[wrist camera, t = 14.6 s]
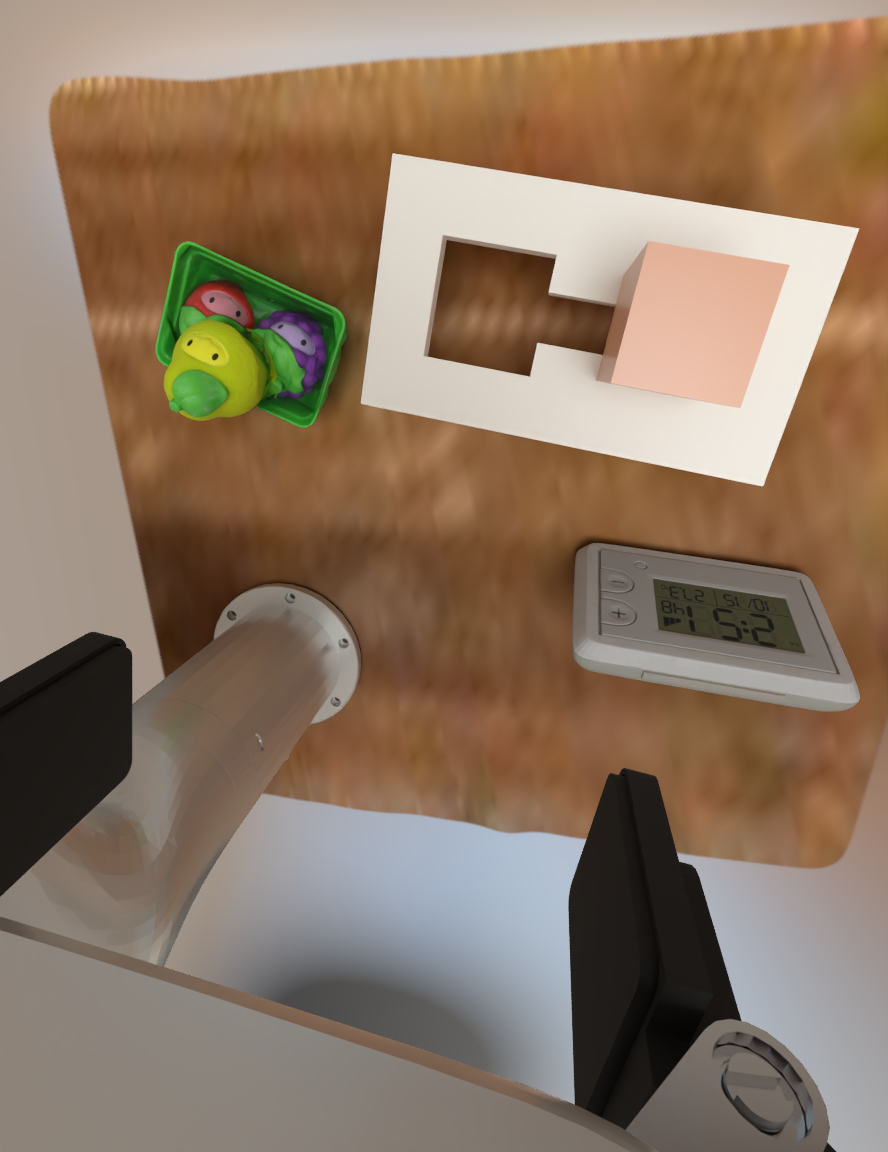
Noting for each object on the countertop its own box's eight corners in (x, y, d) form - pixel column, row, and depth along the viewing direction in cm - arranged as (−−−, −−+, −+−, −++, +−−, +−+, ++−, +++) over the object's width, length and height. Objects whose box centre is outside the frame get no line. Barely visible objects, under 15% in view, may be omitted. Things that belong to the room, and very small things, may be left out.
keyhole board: (717, 462, 40) (762, 486, 31) (399, 397, 42) (360, 403, 33) (786, 263, 35) (859, 228, 27) (428, 202, 38) (392, 153, 29)
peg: (681, 397, 33) (740, 408, 23) (592, 380, 34) (610, 383, 23) (710, 300, 32) (789, 264, 21) (616, 284, 32) (648, 241, 22)
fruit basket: (373, 320, 40) (310, 301, 30) (331, 441, 44) (261, 463, 33) (222, 251, 41) (106, 208, 30) (191, 377, 44) (77, 378, 33)
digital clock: (821, 577, 41) (908, 643, 31) (757, 685, 44) (818, 776, 34) (596, 499, 42) (610, 538, 32) (550, 610, 45) (549, 677, 35)
